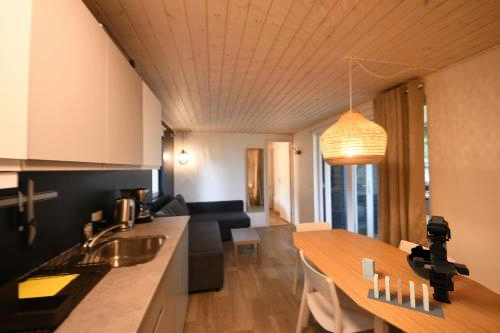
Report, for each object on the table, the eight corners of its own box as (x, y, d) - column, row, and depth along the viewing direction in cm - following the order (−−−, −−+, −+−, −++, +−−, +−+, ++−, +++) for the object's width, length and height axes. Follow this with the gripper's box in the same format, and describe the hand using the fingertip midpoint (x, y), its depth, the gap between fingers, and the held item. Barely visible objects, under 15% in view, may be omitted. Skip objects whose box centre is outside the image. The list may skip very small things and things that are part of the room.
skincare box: (376, 279, 128) (375, 259, 128) (374, 283, 125) (373, 262, 125) (364, 276, 132) (363, 256, 132) (362, 279, 129) (361, 259, 129)
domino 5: (423, 304, 104) (422, 283, 104) (427, 305, 103) (426, 284, 103) (424, 310, 99) (423, 288, 100) (428, 311, 99) (427, 289, 99)
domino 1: (375, 292, 115) (374, 273, 115) (379, 293, 114) (378, 274, 114) (374, 297, 111) (373, 277, 111) (378, 298, 110) (377, 278, 110)
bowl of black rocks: (399, 273, 134) (398, 243, 134) (420, 266, 141) (419, 238, 142) (436, 289, 116) (435, 254, 116) (458, 281, 123) (457, 248, 123)
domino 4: (410, 301, 106) (409, 280, 106) (414, 302, 105) (413, 281, 106) (411, 306, 102) (410, 285, 102) (415, 307, 101) (414, 286, 101)
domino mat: (369, 289, 119) (369, 288, 119) (441, 307, 102) (441, 306, 102) (367, 298, 110) (367, 297, 110) (445, 319, 94) (445, 318, 94)
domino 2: (386, 295, 112) (385, 275, 112) (390, 296, 111) (389, 276, 111) (386, 300, 108) (385, 280, 108) (390, 301, 107) (389, 281, 107)
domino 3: (398, 297, 109) (397, 278, 109) (401, 298, 108) (401, 279, 108) (398, 303, 105) (397, 282, 105) (402, 304, 104) (401, 283, 104)
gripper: (414, 252, 97) (415, 287, 97) (472, 261, 86) (474, 300, 86) (412, 244, 106) (414, 276, 106) (465, 251, 95) (466, 286, 95)
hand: (440, 284), depth 98 cm, fingers open, 4 cm apart
